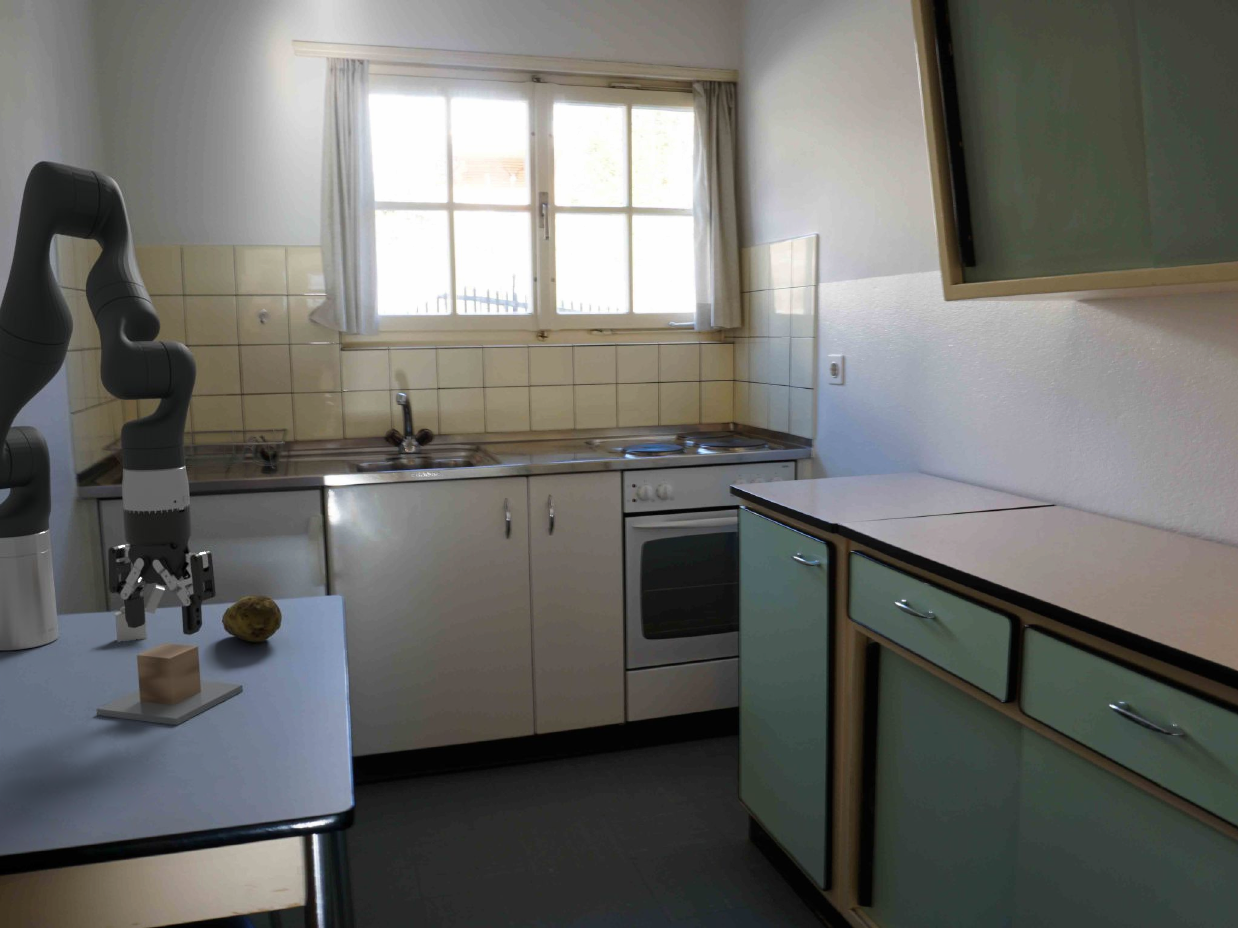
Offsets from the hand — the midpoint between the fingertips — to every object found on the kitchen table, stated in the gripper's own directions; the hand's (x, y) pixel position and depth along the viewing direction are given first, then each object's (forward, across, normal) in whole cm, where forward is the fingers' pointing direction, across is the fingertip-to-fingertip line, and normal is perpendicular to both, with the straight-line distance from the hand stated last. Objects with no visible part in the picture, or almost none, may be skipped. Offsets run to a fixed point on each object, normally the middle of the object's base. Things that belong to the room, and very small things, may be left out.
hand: (164, 629), depth 124 cm
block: (+9, 0, 0) cm, 9 cm away
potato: (+10, -6, +24) cm, 27 cm away
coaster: (+10, 0, 0) cm, 10 cm away
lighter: (+10, -25, +22) cm, 35 cm away
